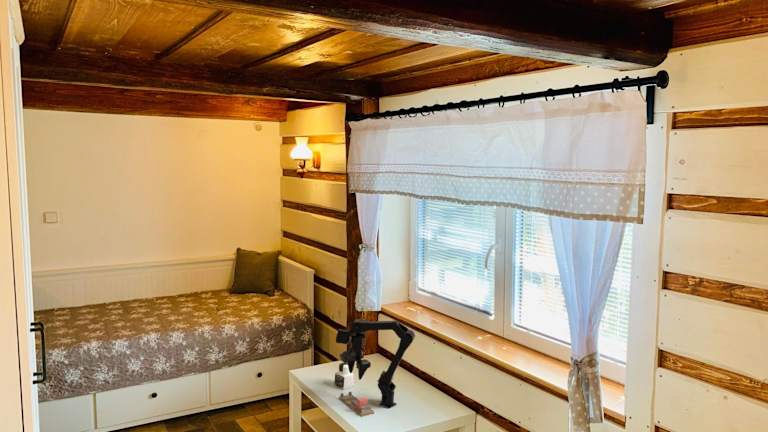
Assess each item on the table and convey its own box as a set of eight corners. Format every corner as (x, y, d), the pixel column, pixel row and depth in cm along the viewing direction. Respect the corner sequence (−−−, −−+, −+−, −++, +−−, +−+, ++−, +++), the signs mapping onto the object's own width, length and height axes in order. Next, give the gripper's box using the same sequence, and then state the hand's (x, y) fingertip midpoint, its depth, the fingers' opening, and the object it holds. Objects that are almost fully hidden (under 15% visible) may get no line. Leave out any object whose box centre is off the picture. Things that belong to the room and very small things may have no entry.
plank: (339, 398, 277) (339, 391, 276) (351, 396, 280) (351, 389, 280) (361, 416, 258) (361, 409, 258) (374, 413, 262) (374, 406, 262)
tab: (349, 402, 271) (350, 393, 270) (356, 400, 273) (357, 391, 272) (359, 410, 262) (360, 401, 262) (367, 408, 264) (367, 399, 264)
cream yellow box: (334, 385, 292) (335, 363, 291) (344, 382, 297) (345, 360, 296) (343, 390, 287) (344, 367, 286) (353, 386, 293) (354, 364, 291)
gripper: (333, 341, 277) (332, 372, 279) (351, 353, 262) (350, 385, 263) (353, 339, 283) (351, 368, 285) (372, 350, 268) (370, 381, 269)
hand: (355, 376), depth 275 cm, fingers open, 9 cm apart
